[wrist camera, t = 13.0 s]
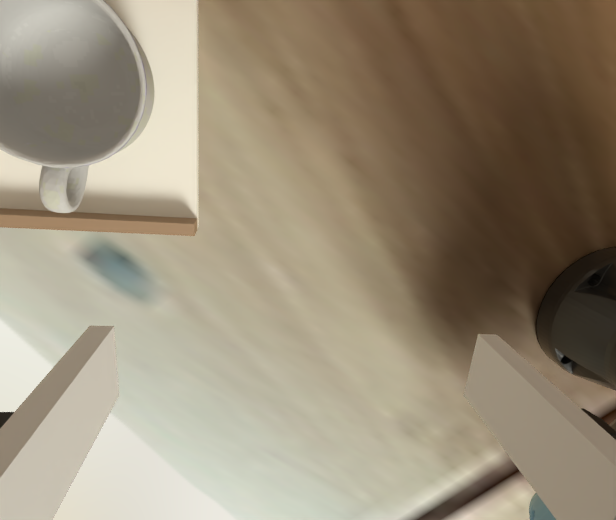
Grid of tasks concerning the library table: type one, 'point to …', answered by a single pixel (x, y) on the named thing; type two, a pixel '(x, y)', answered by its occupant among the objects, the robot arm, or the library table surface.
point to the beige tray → (133, 144)
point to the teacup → (69, 90)
